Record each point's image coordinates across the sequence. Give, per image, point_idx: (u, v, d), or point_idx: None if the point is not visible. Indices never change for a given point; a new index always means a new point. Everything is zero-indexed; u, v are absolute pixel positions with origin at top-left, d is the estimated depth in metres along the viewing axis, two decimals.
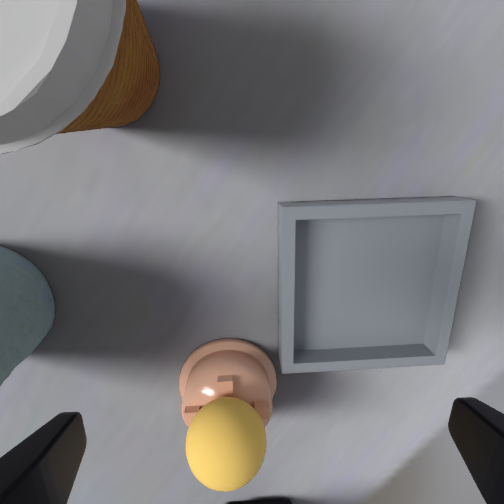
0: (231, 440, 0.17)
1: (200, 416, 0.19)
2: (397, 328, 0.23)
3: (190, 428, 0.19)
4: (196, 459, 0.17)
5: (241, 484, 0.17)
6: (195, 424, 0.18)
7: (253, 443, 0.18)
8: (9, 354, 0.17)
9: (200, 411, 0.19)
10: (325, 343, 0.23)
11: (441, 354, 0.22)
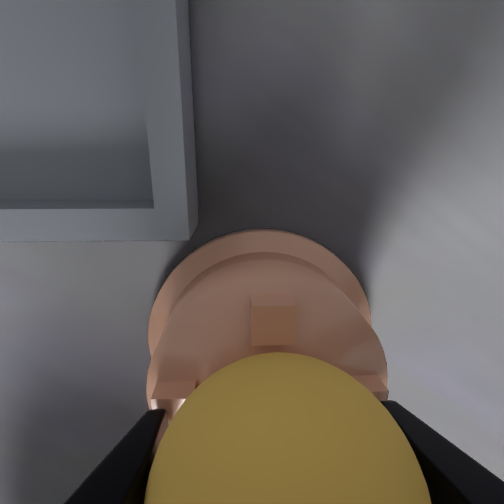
0: None
1: None
2: None
3: None
4: None
5: None
6: None
7: None
8: None
9: None
10: (140, 95, 0.08)
11: None
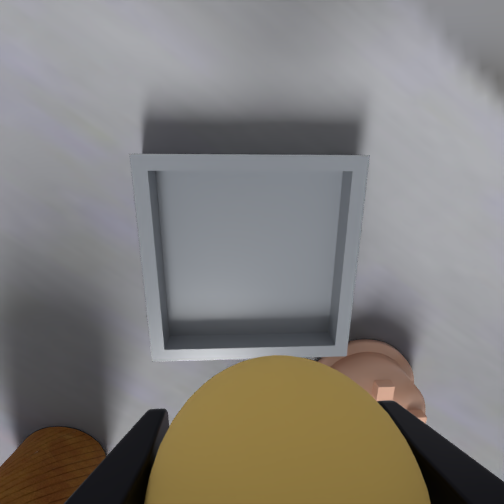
0: None
1: None
2: (314, 209, 0.18)
3: None
4: None
5: None
6: None
7: None
8: None
9: None
10: (324, 294, 0.19)
11: (352, 162, 0.16)
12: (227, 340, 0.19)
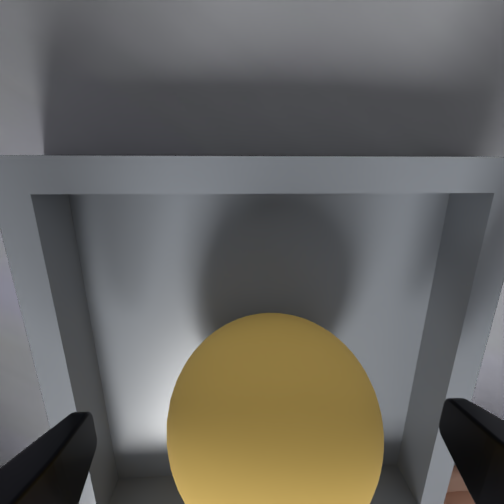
0: (185, 474, 0.06)
1: None
2: (388, 262, 0.09)
3: None
4: None
5: (332, 481, 0.05)
6: None
7: (214, 411, 0.06)
8: None
9: None
10: (394, 408, 0.11)
11: (495, 172, 0.07)
12: None
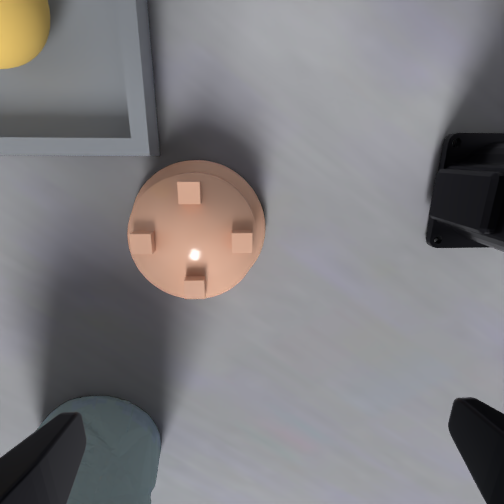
0: None
1: None
2: None
3: None
4: None
5: None
6: None
7: None
8: None
9: None
10: (124, 80, 0.15)
11: None
12: None
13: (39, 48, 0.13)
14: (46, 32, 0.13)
